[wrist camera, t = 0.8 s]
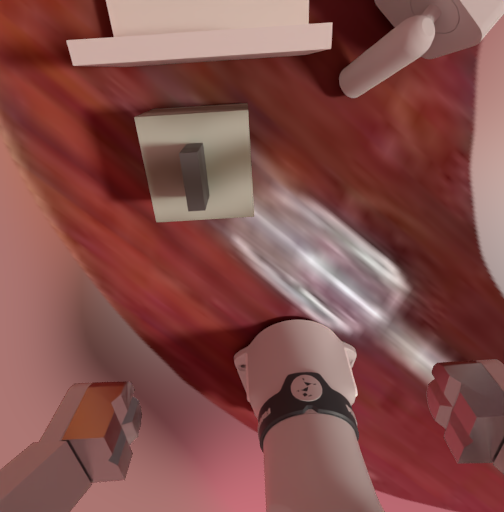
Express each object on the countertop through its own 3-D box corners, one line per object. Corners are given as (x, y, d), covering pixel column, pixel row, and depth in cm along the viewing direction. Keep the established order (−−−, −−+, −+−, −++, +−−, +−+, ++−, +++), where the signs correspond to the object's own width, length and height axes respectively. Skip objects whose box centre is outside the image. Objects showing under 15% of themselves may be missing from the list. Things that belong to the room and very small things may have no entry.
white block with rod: (311, 66, 33) (354, 41, 24) (384, -31, 31) (461, -99, 22) (366, 121, 36) (423, 118, 26) (436, 35, 34) (524, -1, 24)
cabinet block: (252, 194, 40) (255, 233, 31) (170, 199, 40) (146, 239, 31) (247, 102, 35) (248, 115, 26) (153, 108, 35) (118, 123, 26)
